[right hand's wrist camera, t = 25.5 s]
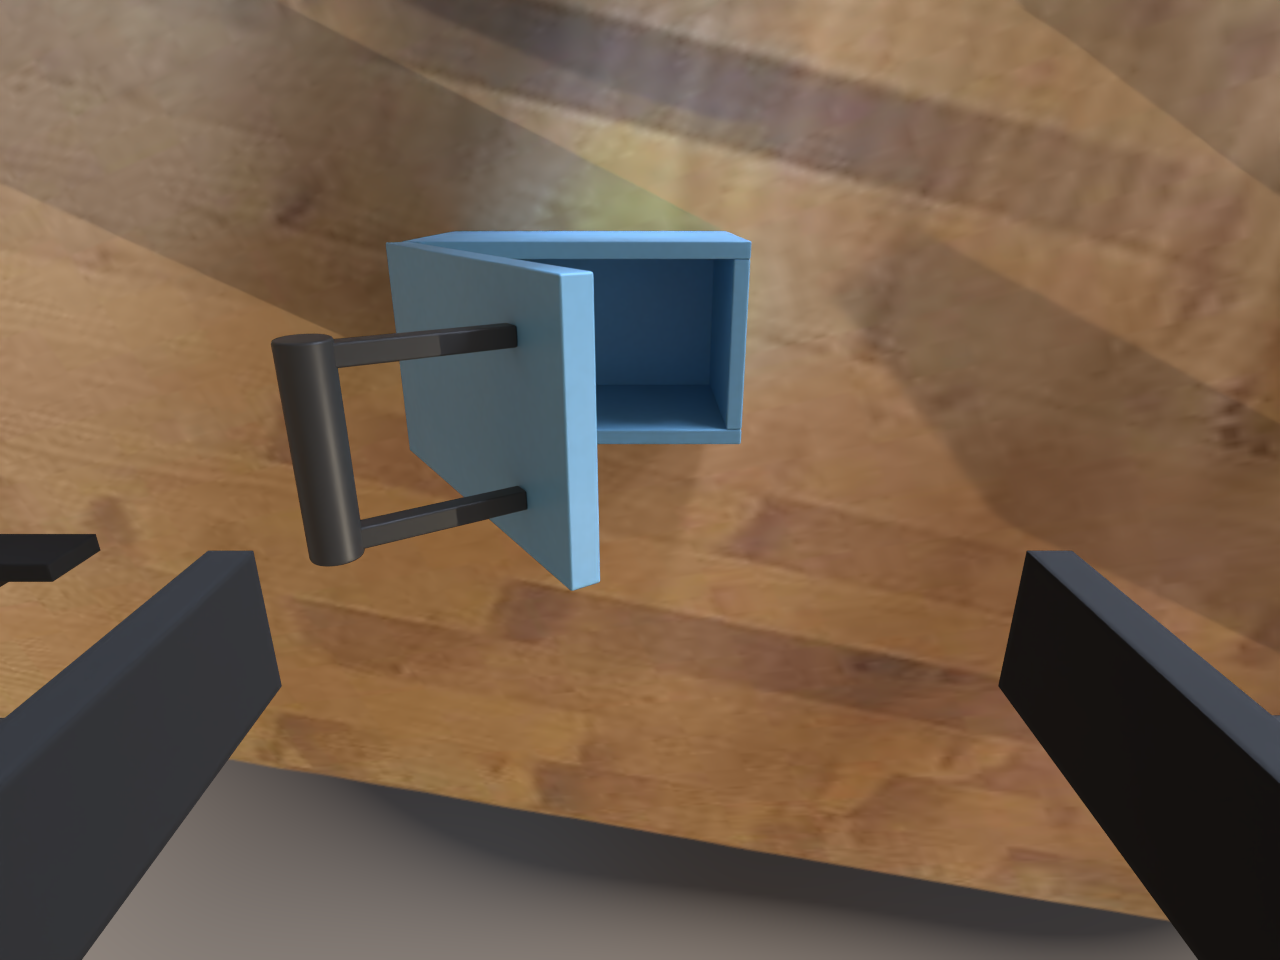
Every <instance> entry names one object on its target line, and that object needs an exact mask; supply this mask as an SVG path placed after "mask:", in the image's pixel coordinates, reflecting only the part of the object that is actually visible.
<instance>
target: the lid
mask: <svg viewBox="0 0 1280 960" xmlns="http://www.w3.org/2000/svg"><path fill="white" fill-rule="evenodd" d="M386 251H387V259H388V268H389V276H390V285H391V293H392V302H393V310H394V318H395V327H396V333H393V334H383V335H372V336H362V337H351V338H341V339H333V338H332V337H331V336H329V335H325V334H297V335H289V336H283V337H279V338H276V339H274V340H272V342H271V347H272V352H273V358H274V363H275V369H276V375H277V380H278V386H279V391H280V397H281V402H282V408H283V413H284V419H285V425H286V430H287V436H288V441H289V447H290V452H291V458H292V463H293V469H294V475H295V480H296V486H297V491H298V497H299V502H300V508H301V513H302V519H303V525H304V530H305V536H306V541H307V547H308V552H309V558H310V560H311V561H312V563H314V564H316V565H319V566H338V565H343V564H347V563H350V562H352V561H355V560H356V559H358V558H360V557H361V556H362V555H363V553H364V550H365V548H369V547H373V546H377V545H381V544H385V543H390V542H394V541H398V540H402V539H406V538H411V537H415V536H419V535H423V534H427V533H431V532H436V531H440V530H444V529H448V528H452V527H457V526H461V525H465V524H469V523H473V522H477V521H482V520H486V519H490V520H491V521H492V522H493V523H494V524H495V525H497V526H498V527H499V528H500V529H501V530H502V531H503V532H505V533H506V534H507V535H508V536H509V537H510V538H511V539H513V540H514V541H515V542H516V543H517V544H518V545H519V546H521V547H522V548H523V549H524V550H525V551H526V552H527V553H528V554H530V555H531V556H532V557H533V558H534V559H535V560H536V561H538V562H539V563H540V564H541V565H542V566H543V567H544V568H546V569H547V570H548V571H549V572H550V573H551V574H552V575H554V576H555V577H556V578H557V579H558V580H559V581H560V582H562V583H563V584H564V585H565V586H566V587H567V588H568V589H570V590H571V591H573V590H577V589H580V588H583V587H586V586H589V585H593V584H596V583H599V582H600V558H599V511H598V465H597V419H596V373H595V327H594V280H593V272H591V271H585V270H579V269H573V268H567V267H561V266H554V265H548V264H542V263H536V262H530V261H524V260H517V259H511V258H505V257H499V256H493V255H486V254H480V253H474V252H468V251H462V250H456V249H449V248H443V247H437V246H431V245H425V244H419V243H412V242H388V243H386ZM395 361H400V369H401V378H402V386H403V395H404V403H405V412H406V420H407V429H408V437H409V445H410V450H411V451H412V452H413V453H414V454H415V455H417V456H418V457H419V458H420V459H421V460H422V461H423V462H425V463H426V464H427V465H428V466H429V467H430V468H431V469H433V470H434V471H435V472H436V473H437V474H438V475H439V476H441V477H442V478H443V479H444V480H445V481H446V482H447V483H449V484H450V485H451V486H452V487H453V488H454V489H455V490H457V491H458V492H459V493H460V494H461V495H462V496H463V498H459V499H454V500H450V501H445V502H441V503H436V504H432V505H427V506H422V507H418V508H413V509H409V510H404V511H400V512H395V513H390V514H386V515H381V516H377V517H372V518H368V519H363V520H360V515H359V508H358V502H357V495H356V488H355V482H354V475H353V468H352V461H351V455H350V448H349V441H348V435H347V428H346V421H345V414H344V408H343V401H342V394H341V388H340V381H339V374H338V368H343V367H351V366H360V365H369V364H378V363H386V362H395Z"/></svg>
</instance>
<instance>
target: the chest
mask: <svg viewBox="0 0 1280 960" xmlns="http://www.w3.org/2000/svg"><path fill="white" fill-rule="evenodd" d="M402 242H412V243H419V244H425V245H431V246H437V247H443V248H449V249H456V250H462V251H468V252H474V253H480V254H486V255H493V256H499V257H505V258H511V259H517V260H524V261H530V262H536V263H542V264H548V265H554V266H561V267H567V268H573V269H579V270H585V271H591V272H593V280H594V327H595V373H596V419H597V444H740V443H741V427H742V408H743V389H744V370H745V350H746V331H747V312H748V293H749V274H750V257H751V242H750V241H748V240H746V239H743V238H741V237H738V236H736V235H734V234H731V233H729V232H726V231H454V232H448V233H443V234H438V235H432V236H427V237H422V238H417V239H412V240H407V241H402Z"/></svg>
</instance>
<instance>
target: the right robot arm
mask: <svg viewBox="0 0 1280 960" xmlns="http://www.w3.org/2000/svg"><path fill="white" fill-rule="evenodd" d="M281 686H282V685H281V681H280V676H279V671H278V666H277V662H276V657H275V652H274V647H273V643H272V638H271V633H270V628H269V624H268V619H267V614H266V609H265V605H264V600H263V595H262V590H261V586H260V581H259V576H258V571H257V566H256V562H255V557H254V552H253V551H207V552H206V553H205V554H204V555H202V556H201V557H200V558H199V559H197V560H196V561H195V562H194V563H193V564H191V565H190V566H189V567H188V568H187V569H185V570H184V571H183V572H182V573H180V574H179V575H178V576H177V577H176V578H174V579H173V580H172V581H171V582H170V583H168V584H167V585H166V586H165V587H163V588H162V589H161V590H160V591H159V592H157V593H156V594H155V595H154V596H153V597H151V598H150V599H149V600H148V601H146V602H145V603H144V604H143V605H142V606H140V607H139V608H138V609H137V610H136V611H134V612H133V613H132V614H131V615H129V616H128V617H127V618H126V619H125V620H123V621H122V622H121V623H120V624H119V625H117V626H116V627H115V628H114V629H112V630H111V631H110V632H109V633H108V634H106V635H105V636H104V637H103V638H102V639H100V640H99V641H98V642H97V643H95V644H94V645H93V646H92V647H91V648H89V649H88V650H87V651H86V652H84V653H83V654H82V655H81V656H80V657H78V658H77V659H76V660H75V661H74V662H72V663H71V664H70V665H69V666H67V667H66V668H65V669H64V670H63V671H61V672H60V673H59V674H58V675H57V676H55V677H54V678H53V679H52V680H50V681H49V682H48V683H47V684H46V685H44V686H43V687H42V688H41V689H40V690H38V691H37V692H36V693H35V694H33V695H32V696H31V697H30V698H29V699H27V700H26V701H25V702H24V703H23V704H21V705H20V706H19V707H18V708H16V709H15V710H14V711H13V712H12V713H10V714H9V715H8V716H7V717H6V718H0V960H82V959H83V957H84V956H85V955H86V953H87V952H88V950H89V949H90V948H91V946H92V945H93V944H94V942H95V941H96V940H97V938H98V937H99V935H100V934H101V933H102V931H103V930H104V929H105V927H106V926H107V924H108V923H109V922H110V920H111V919H112V918H113V916H114V915H115V914H116V912H117V911H118V909H119V908H120V907H121V905H122V904H123V903H124V901H125V900H126V898H127V897H128V896H129V894H130V893H131V892H132V890H133V889H134V888H135V886H136V885H137V883H138V882H139V881H140V879H141V878H142V877H143V875H144V874H145V872H146V871H147V870H148V868H149V867H150V866H151V864H152V863H153V861H154V860H155V859H156V857H157V856H158V855H159V853H160V852H161V851H162V849H163V848H164V846H165V845H166V844H167V842H168V841H169V840H170V838H171V837H172V836H173V834H174V833H175V831H176V830H177V829H178V827H179V826H180V825H181V823H182V822H183V820H184V819H185V818H186V816H187V815H188V814H189V812H190V811H191V809H192V808H193V807H194V805H195V804H196V803H197V801H198V800H199V799H200V797H201V796H202V794H203V793H204V792H205V790H206V789H207V788H208V786H209V785H210V783H211V782H212V781H213V779H214V778H215V777H216V775H217V774H218V773H219V771H220V770H221V768H222V767H223V766H224V764H225V763H226V761H227V760H228V759H229V757H230V756H231V755H232V753H233V752H234V751H235V749H236V748H237V746H238V745H239V744H240V742H241V741H242V740H243V738H244V737H245V736H246V734H247V733H248V731H249V730H250V729H251V727H252V726H253V725H254V723H255V722H256V720H257V719H258V718H259V716H260V715H261V714H262V712H263V711H264V710H265V708H266V707H267V705H268V704H269V703H270V701H271V700H272V699H273V697H274V696H275V694H276V693H277V692H278V690H279V689H280V688H281ZM998 686H999V688H1000V689H1001V690H1002V692H1003V693H1004V694H1005V696H1006V697H1007V699H1008V700H1009V701H1010V703H1011V704H1012V705H1013V707H1014V708H1015V710H1016V711H1017V712H1018V714H1019V715H1020V716H1021V718H1022V719H1023V720H1024V722H1025V723H1026V725H1027V726H1028V727H1029V729H1030V730H1031V731H1032V733H1033V734H1034V736H1035V737H1036V738H1037V740H1038V741H1039V742H1040V744H1041V745H1042V746H1043V748H1044V749H1045V751H1046V752H1047V753H1048V755H1049V756H1050V757H1051V759H1052V760H1053V762H1054V763H1055V764H1056V766H1057V767H1058V768H1059V770H1060V771H1061V773H1062V774H1063V775H1064V777H1065V778H1066V779H1067V781H1068V782H1069V783H1070V785H1071V786H1072V788H1073V789H1074V790H1075V792H1076V793H1077V794H1078V796H1079V797H1080V799H1081V800H1082V801H1083V803H1084V804H1085V805H1086V807H1087V808H1088V809H1089V811H1090V812H1091V814H1092V815H1093V816H1094V818H1095V819H1096V820H1097V822H1098V823H1099V825H1100V826H1101V827H1102V829H1103V830H1104V831H1105V833H1106V834H1107V836H1108V837H1109V838H1110V840H1111V841H1112V842H1113V844H1114V845H1115V846H1116V848H1117V849H1118V851H1119V852H1120V853H1121V855H1122V856H1123V857H1124V859H1125V860H1126V862H1127V863H1128V864H1129V866H1130V867H1131V868H1132V870H1133V871H1134V872H1135V874H1136V875H1137V877H1138V878H1139V879H1140V881H1141V882H1142V883H1143V885H1144V886H1145V888H1146V889H1147V890H1148V892H1149V893H1150V894H1151V896H1152V897H1153V898H1154V900H1155V901H1156V903H1157V904H1158V905H1159V907H1160V908H1161V909H1162V911H1163V912H1164V914H1165V915H1166V916H1167V918H1168V919H1169V920H1170V922H1171V923H1172V925H1173V926H1174V927H1175V929H1176V930H1177V931H1178V933H1179V934H1180V935H1181V937H1182V938H1183V940H1184V941H1185V942H1186V944H1187V945H1188V946H1189V948H1190V949H1191V951H1192V952H1193V953H1194V955H1195V956H1196V957H1197V959H1198V960H1280V715H1271V714H1270V713H1268V712H1267V711H1266V710H1265V709H1264V708H1262V707H1261V706H1260V705H1259V704H1257V703H1256V702H1255V701H1254V700H1253V699H1251V698H1250V697H1249V696H1248V695H1247V694H1245V693H1244V692H1243V691H1242V690H1240V689H1239V688H1238V687H1237V686H1236V685H1234V684H1233V683H1232V682H1231V681H1230V680H1228V679H1227V678H1226V677H1225V676H1223V675H1222V674H1221V673H1220V672H1219V671H1217V670H1216V669H1215V668H1214V667H1213V666H1211V665H1210V664H1209V663H1208V662H1206V661H1205V660H1204V659H1203V658H1202V657H1200V656H1199V655H1198V654H1197V653H1196V652H1194V651H1193V650H1192V649H1191V648H1189V647H1188V646H1187V645H1186V644H1185V643H1183V642H1182V641H1181V640H1180V639H1178V638H1177V637H1176V636H1175V635H1174V634H1172V633H1171V632H1170V631H1169V630H1168V629H1166V628H1165V627H1164V626H1163V625H1161V624H1160V623H1159V622H1158V621H1157V620H1155V619H1154V618H1153V617H1152V616H1151V615H1149V614H1148V613H1147V612H1146V611H1144V610H1143V609H1142V608H1141V607H1140V606H1138V605H1137V604H1136V603H1135V602H1134V601H1132V600H1131V599H1130V598H1129V597H1127V596H1126V595H1125V594H1124V593H1123V592H1121V591H1120V590H1119V589H1118V588H1117V587H1115V586H1114V585H1113V584H1112V583H1110V582H1109V581H1108V580H1107V579H1106V578H1104V577H1103V576H1102V575H1101V574H1100V573H1098V572H1097V571H1096V570H1095V569H1093V568H1092V567H1091V566H1090V565H1089V564H1087V563H1086V562H1085V561H1084V560H1083V559H1081V558H1080V557H1079V556H1078V555H1076V554H1075V553H1074V552H1073V551H1027V552H1026V557H1025V562H1024V566H1023V571H1022V576H1021V581H1020V586H1019V590H1018V595H1017V600H1016V605H1015V609H1014V614H1013V619H1012V624H1011V628H1010V633H1009V638H1008V643H1007V647H1006V652H1005V657H1004V662H1003V666H1002V671H1001V676H1000V681H999V685H998Z"/></svg>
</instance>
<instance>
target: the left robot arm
mask: <svg viewBox="0 0 1280 960" xmlns="http://www.w3.org/2000/svg"><path fill="white" fill-rule="evenodd" d="M99 551H100V547H99V544H98V541H97V537H96V534H0V587H1V586H3V585H4V584H6V583H7V582H53V581H54V580H56V579H58V578H59V577H61V576H62V575H64V574H65V573H67V572H68V571H70V570H71V569H73V568H74V567H76V566H77V565H79V564H80V563H82V562H83V561H85V560H86V559H88V558H89V557H91V556H92V555H94V554H96V553H97V552H99Z"/></svg>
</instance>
